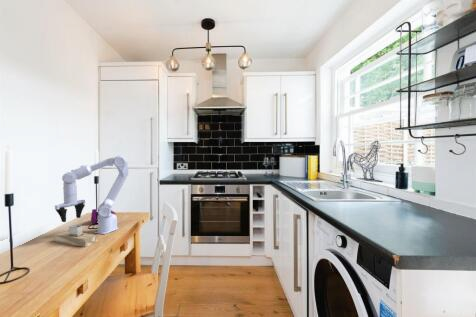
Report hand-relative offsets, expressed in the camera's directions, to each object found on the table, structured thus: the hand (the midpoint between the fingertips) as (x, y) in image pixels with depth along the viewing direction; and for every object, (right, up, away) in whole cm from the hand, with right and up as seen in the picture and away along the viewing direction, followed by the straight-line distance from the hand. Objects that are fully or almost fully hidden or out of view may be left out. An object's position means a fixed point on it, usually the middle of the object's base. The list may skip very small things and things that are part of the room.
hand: (71, 219), depth 125 cm
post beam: (+7, -10, -7) cm, 14 cm away
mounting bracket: (+1, -9, +30) cm, 32 cm away
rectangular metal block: (+7, -10, -7) cm, 14 cm away
